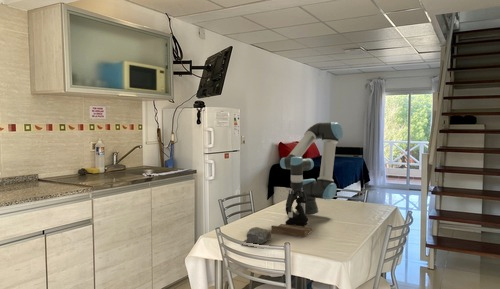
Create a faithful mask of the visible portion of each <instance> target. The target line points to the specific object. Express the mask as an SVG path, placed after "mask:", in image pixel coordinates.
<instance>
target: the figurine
mask: <svg viewBox="0 0 500 289" xmlns="http://www.w3.org/2000/svg"><path fill="white" fill-rule="evenodd" d="M293 196H294V195H293ZM294 201H295V203H296V205H295V206H294V209H295V210H296V211H298V212H297V213H296V212H295V211H294V210H293V217H292V218H291V217H288V219H286V221H285V223H284V224H286V225H294V226H302V227H306V226H307V225H308V224H309V223H308V221H309V217H308V216H307V215H306V213H304V209H303V207H302V206H301V205H299V204H300V203H302V202H304V203H305V201H304V197H302V196H300V197H299V196H298V197H296V198H295V200H294ZM290 205H291V204H290ZM285 213H286V215H287V216H288V207H287V206H286V205H285Z"/></svg>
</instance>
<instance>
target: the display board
mask: <svg viewBox="0 0 500 289" xmlns="http://www.w3.org/2000/svg"><path fill="white" fill-rule="evenodd" d="M270 230H271V231H270V233H271V234H279V235H285V236H292V237H299V236H300V237H301V238H305V237H306V236H308V235H309V234H310V233H311V232H312V231H313V227H309V226H297V225H289V224H286V223H284V224H283V223H280V224H279V225H271V229H270ZM308 233H309V234H308ZM300 237H299V238H300Z"/></svg>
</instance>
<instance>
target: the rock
mask: <svg viewBox="0 0 500 289" xmlns="http://www.w3.org/2000/svg"><path fill="white" fill-rule="evenodd" d="M270 239H272V233H271V231H270V230H268V229H263V228H261V227H260V226H259V227H258V226H255V227H252V228H249V230H248V231H247V233H246V243H249V242H250V243H249V244H255V243H257V244H258V245H263V244H264V243H266V242H268V240H270ZM257 244H256V245H257Z"/></svg>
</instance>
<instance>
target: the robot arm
mask: <svg viewBox="0 0 500 289" xmlns="http://www.w3.org/2000/svg"><path fill="white" fill-rule="evenodd" d="M343 134H344V133H343V128H342V126H341V124H340V123H339V122H333V121H331V122H318V123H315V124H313V125H312V126H310V127H308V129H307V130H306V131H305V132H304V134H303V136H302V138H301V139H300V140H299V142H297V144H296V145H295V146H294V148H293V149H292V150H291V152H289V154H288V155H287V156H285V157H282V158H281V159H280V161H279V165H280V168H282V169H283V170H290V188H291V189H289V190H288V195H287V199H286V203H285V207H286V206H287V207H288V215H287V217H288V218H289V217H291V218H292V217H293V211H294V210H293V205H294V202H295V201H296V200H295V198H296V197H297V198H298V197H300V196H302V197H304V201H305V203H304V202H302V203H300V204H299V205H301V206H302V207H303V209H304V213H305V214H316V213H318V212H319V207H318V204H317V202H316V199H321V200H327V201H329V200H332V199H334V197H335V196H336V194H337V189H338V188H337V184H336V183H335V180H334V179H333V172H334V166H335V165H334V163H335V154H336V146H337V144H338V143H339V140H342V139H343V138H342V137H343ZM320 139H321V142H322V144H323V145H322V146H323V147H322V153H321V160H320V161H321V164H320V171H319V176H318V177H317V179H315V178H308V179H304V177H303V175H304V174H303V173H304V172H306V171H310V170H312V169H313V168H314V166H315V164H314V163H315V162H314V161H313V159H312V158H303V155H304V154H305V153H306V152H307V150H308V149H309V147H311V145H312V144H313V143H315V142H316V141H317V140H320ZM293 195H294V196H293ZM290 204H291V205H290ZM296 211H297V210H296ZM297 213H299V212H298V211H297Z"/></svg>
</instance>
